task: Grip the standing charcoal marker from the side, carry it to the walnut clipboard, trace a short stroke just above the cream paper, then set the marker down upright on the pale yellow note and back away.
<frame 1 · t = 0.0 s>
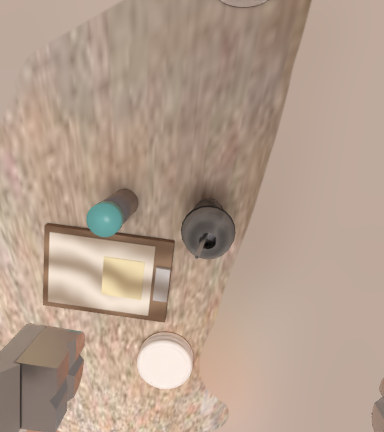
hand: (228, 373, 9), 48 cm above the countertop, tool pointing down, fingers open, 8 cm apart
clipboard: (108, 272, 61), on the countertop
coaster: (166, 353, 65), on the countertop
marker: (125, 202, 58), on the countertop
beverage cup: (208, 211, 58), on the countertop
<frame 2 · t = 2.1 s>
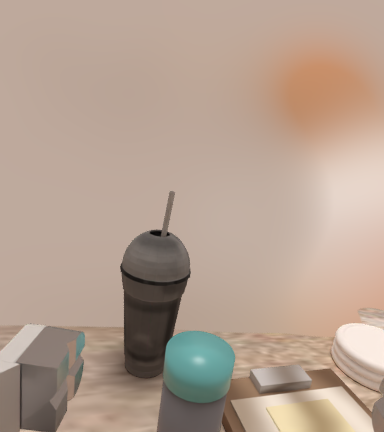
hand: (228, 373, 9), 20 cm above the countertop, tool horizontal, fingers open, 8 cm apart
coaster: (371, 369, 44), on the countertop
beverage cup: (145, 365, 39), on the countertop
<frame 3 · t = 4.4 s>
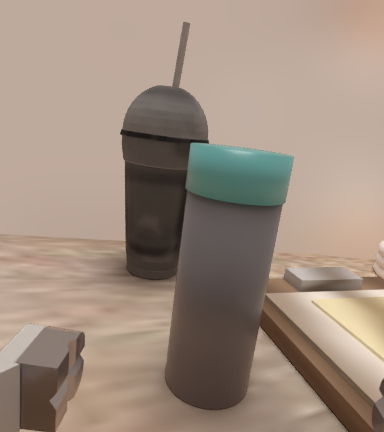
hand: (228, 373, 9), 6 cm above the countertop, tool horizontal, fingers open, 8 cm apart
marker: (206, 376, 19), on the countertop
beverage cup: (151, 270, 31), on the countertop
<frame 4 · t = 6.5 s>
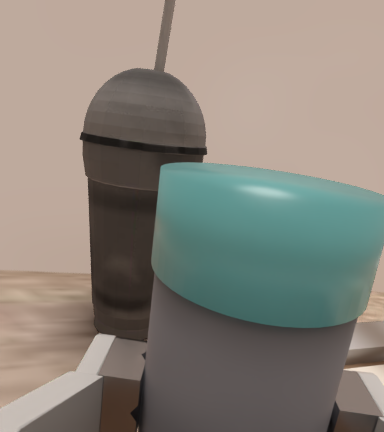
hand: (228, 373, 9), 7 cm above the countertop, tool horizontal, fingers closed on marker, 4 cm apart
beverage cup: (129, 323, 23), on the countertop
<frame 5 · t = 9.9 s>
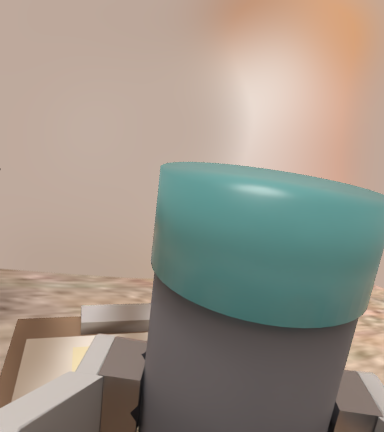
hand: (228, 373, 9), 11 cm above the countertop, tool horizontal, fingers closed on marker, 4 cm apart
when the fingers open (9 cm above the countertop, at t = 13.5 s): marker stays where it is, resting on clipboard.
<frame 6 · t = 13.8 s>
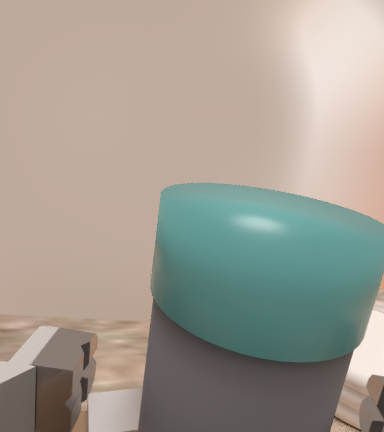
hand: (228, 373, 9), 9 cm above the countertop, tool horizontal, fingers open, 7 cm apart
coaster: (360, 384, 24), on the countertop
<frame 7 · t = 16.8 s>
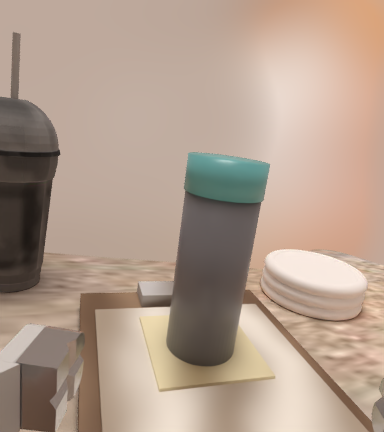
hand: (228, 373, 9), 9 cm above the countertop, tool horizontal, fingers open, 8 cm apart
clipboard: (213, 400, 20), on the countertop
coaster: (307, 298, 36), on the countertop
marker: (199, 343, 23), point 2 cm above the countertop, touching clipboard
beverage cup: (12, 282, 31), on the countertop
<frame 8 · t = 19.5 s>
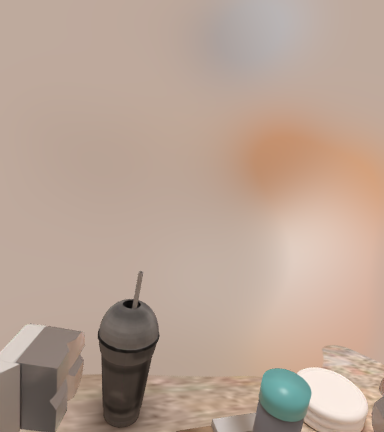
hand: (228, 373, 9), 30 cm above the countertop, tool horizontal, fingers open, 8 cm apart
coaster: (324, 411, 50), on the countertop
beverage cup: (121, 413, 45), on the countertop
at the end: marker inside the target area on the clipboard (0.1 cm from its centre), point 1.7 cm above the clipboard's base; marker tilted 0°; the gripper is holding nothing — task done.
